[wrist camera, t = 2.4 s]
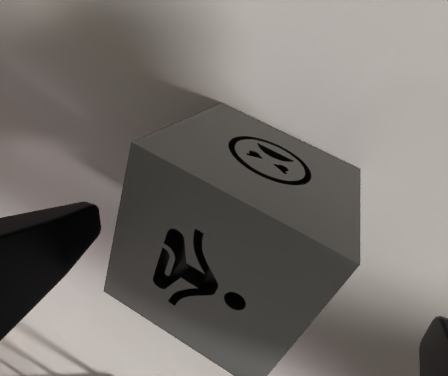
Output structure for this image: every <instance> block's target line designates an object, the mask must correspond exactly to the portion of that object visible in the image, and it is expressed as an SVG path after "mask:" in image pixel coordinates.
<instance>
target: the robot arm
mask: <svg viewBox="0 0 448 376" xmlns="http://www.w3.org/2000/svg"><path fill="white" fill-rule="evenodd" d="M100 231H101V223H100V215H99V209H98V207H97V206H96V205H94V204H91V203H88V202H79V203H74V204H69V205H64V206H59V207H54V208H49V209H44V210H39V211H33V212H28V213H23V214H18V215H13V216H8V217H3V218H0V341H1V340H2V339H3V338H4V337H5V336H6V335H7V334H8V333H9V332H10V331H11V330H12V329H13V328H14V327H15V326H16V325H17V324H18V323H19V322H20V321H21V320H22V319H23V318H24V317H25V316H26V315H27V314H28V313H29V312H30V311H31V310H32V309H33V308H34V307H35V306H36V305H37V304H38V303H39V302H40V301H41V300H42V299H43V297H44V296H45V295H46V294H47V293H48V292H49V291H50V290H51V289H52V288H53V287H54V286H55V285H56V284H57V283H58V282H59V281H60V280H61V279H62V278H63V277H64V276H65V275H66V274H67V273H68V272H69V271H70V269H71V268H72V267H73V266H74V265H75V263H76V262H77V261H78V260H79V259H80V257H81V256H82V255H83V254H84V253H85V251H86V250H87V249H88V248H89V247H90V245H91V244H92V243H93V242H94V240H95V239H96V238H97V237H98V235H99V234H100ZM419 359H420V376H448V318H445V317H442V316H437V317H435V318H434V319H433V321H432V323H431V324H430V326H429V328H428V330H427V331H426V333H425V335H424V337H423V338H422V340H421V343H420V349H419Z"/></svg>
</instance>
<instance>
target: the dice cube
mask: <svg viewBox="0 0 448 376" xmlns="http://www.w3.org/2000/svg"><path fill="white" fill-rule="evenodd" d="M359 265H360V168H357V167H355V166H353V165H351V164H349V163H347V162H345V161H343V160H341V159H339V158H337V157H335V156H332V155H330V154H328V153H326V152H324V151H322V150H320V149H318V148H316V147H314V146H312V145H309V144H307V143H305V142H303V141H301V140H299V139H297V138H295V137H293V136H291V135H289V134H287V133H284V132H282V131H280V130H278V129H276V128H274V127H272V126H270V125H268V124H266V123H264V122H261V121H259V120H257V119H255V118H253V117H251V116H249V115H247V114H245V113H243V112H241V111H238V110H236V109H234V108H232V107H230V106H228V105H226V104H224V103H221V104H218V105H216V106H214V107H211V108H209V109H207V110H204V111H202V112H200V113H197V114H195V115H193V116H190V117H188V118H186V119H184V120H181V121H179V122H177V123H174V124H172V125H170V126H167V127H165V128H163V129H160V130H158V131H156V132H153V133H151V134H149V135H147V136H144V137H142V138H140V139H137V140H135V141H133V142H131V147H130V153H129V158H128V163H127V169H126V174H125V179H124V185H123V190H122V195H121V201H120V206H119V211H118V217H117V222H116V227H115V233H114V238H113V243H112V249H111V254H110V260H109V265H108V270H107V276H106V281H105V286H104V292H106V293H107V294H109V295H111V296H112V297H114V298H115V299H117V300H118V301H120V302H121V303H123V304H124V305H126V306H127V307H129V308H131V309H132V310H134V311H135V312H137V313H138V314H140V315H141V316H143V317H144V318H146V319H148V320H149V321H151V322H152V323H154V324H155V325H157V326H158V327H160V328H161V329H163V330H165V331H166V332H168V333H169V334H171V335H172V336H174V337H175V338H177V339H178V340H180V341H181V342H183V343H185V344H186V345H188V346H189V347H191V348H192V349H194V350H195V351H197V352H198V353H200V354H202V355H203V356H205V357H206V358H208V359H209V360H211V361H212V362H214V363H215V364H217V365H219V366H220V367H222V368H223V369H225V370H226V371H228V372H229V373H231V374H232V375H234V376H267V375H268V374H269V373H270V372H271V370H272V369H273V368H274V367H275V366H276V364H277V363H278V362H279V361H280V360H281V358H282V357H283V356H284V355H285V354H286V352H287V351H288V350H289V349H290V348H291V346H292V345H293V344H294V343H295V342H296V340H297V339H298V338H299V337H300V336H301V334H302V333H303V332H304V331H305V330H306V328H307V327H308V326H309V325H310V324H311V322H312V321H313V320H314V319H315V318H316V317H317V315H318V314H319V313H320V312H321V311H322V309H323V308H324V307H325V306H326V305H327V303H328V302H329V301H330V300H331V299H332V297H333V296H334V295H335V294H336V293H337V291H338V290H339V289H340V288H341V287H342V285H343V284H344V283H345V282H346V281H347V279H348V278H349V277H350V276H351V275H352V273H353V272H354V271H355V270H356V269H357V267H358V266H359Z"/></svg>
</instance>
